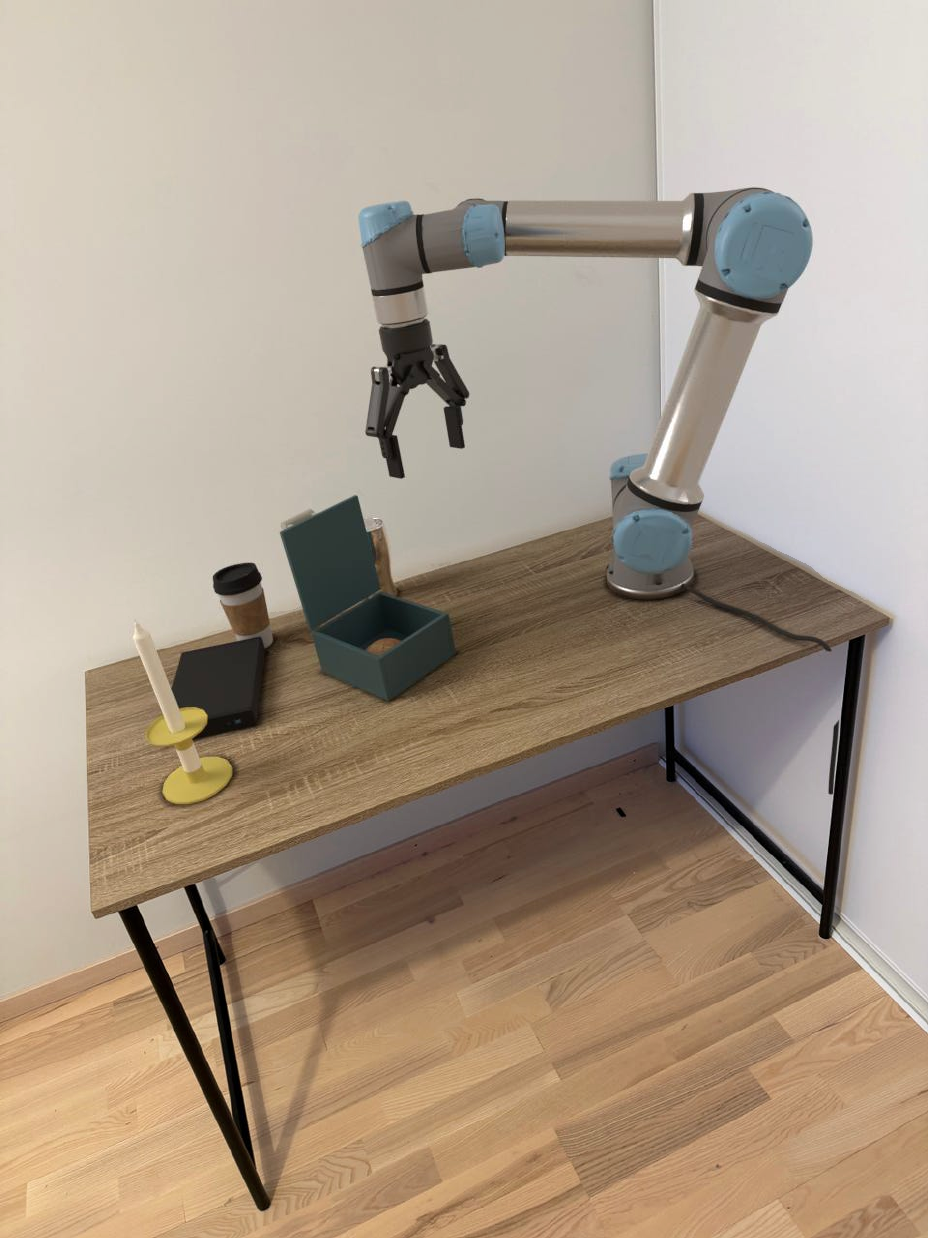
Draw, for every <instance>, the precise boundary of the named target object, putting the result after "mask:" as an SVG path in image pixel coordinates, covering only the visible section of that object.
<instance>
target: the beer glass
mask: <svg viewBox="0 0 928 1238" xmlns="http://www.w3.org/2000/svg"><path fill="white" fill-rule="evenodd" d="M363 519H364V523H365V527H366V531H367V535H368V539H369V543H370V547H371V551H372V555H373V559H374V563H375V567H376V571H377V575H378V579H379V583H380V587H381V589H380V590H379V591H377V592H375V593H374V594H372V595H370V596H369V597H367V598H366V599H368V598H370V597H371V596H373V595H375V594H377V593H378V592H380V591H381V592H384V593H387V594H390V595H394V596H397V597H398V589H397V587H396V584H395V582H394V578H393V574H392V573H393V572H392V550H391V543H390V539H389V534H388V531H387V527H386V525H385V521H384V519H382V518H380V517H367V518H363Z"/></svg>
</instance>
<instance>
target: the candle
mask: <svg viewBox="0 0 928 1238" xmlns="http://www.w3.org/2000/svg"><path fill="white" fill-rule="evenodd" d="M132 640H133V642H134V645H135V647H136V649H137V652H138V654H139V655H138V656H139V657H140V660H141V662H142V664H143V667H144V670H145V672H146V675H147V677H148V679H149V682H150V686H151V687H152V690H153V693H154V694H155V698H156V699H157V702H158V705H159V707H160V710H161V712H162V715H160V716H159V717H157V718H156V719H155V720H153V721H152V722H151V723H150V724H149V726H148V727H147V728H146V731H145V739H146V740H147V742H148V744H149V745H151V746H155V747H159V748H160V747H161V748H162V747H163V748H168V747H174V748H175V751H176V754H177V756H178V758H179V759H178V760H179V761H180V764H181V765H180V766H178V767H177V768H176V769H174V771H172V772H171V773H170V774H169V775H168V777H166V779H165V781H164V782H163V786H162V794H163V796H164V797H165V800H166V801H168V802H169V803H173V804H175V805H191V804H196V803H199V802H203V801H205V800H207V799H209V798H211V797H213V796H215V795H217V794H218V793H219V792H221V791H222V790H223V789H224V788H225V787H227V785H228V784H229V782H230V780H231V779H232V777H233V766H232V765H231V763H230V762H229V760H228V759H226V758H223V757H220V756H204V757H200V755H199V754H198V751H197V748H196V745H195V743H194V739H192V738H194V737H195V736H196V735H197V734H199V733H200V732H201V731H202V730H203V729H204V727H205V726H206V724H207V719H208V715H207V714H206V713H205V711H204V710H202V709H199V708H196V707H185V708H181V709H179V708H178V705H177V703H176V700H175V697H174V695H173V692H172V690H171V688H172V686H171V685H170V682H169V680H168V676H167V674H166V672H165V669H164V667H163V663H162V661H161V659H160V656H159V654H158V651H157V649H156V646H155V644H154V641H153V638H152V636H151V632H150V631H148V630H145V629H144V628H143V627H142V625H140V623H139V621H137V620H136V617H135V618H134V634H133V636H132Z"/></svg>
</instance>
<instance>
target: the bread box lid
mask: <svg viewBox="0 0 928 1238" xmlns="http://www.w3.org/2000/svg"><path fill="white" fill-rule="evenodd" d="M364 519H365V518H364V516H363V512H362V508H361V504H360V499H359V496H358V495H357V494H354V495H351V496H350V497H348V498H346V499H344V500H342V501H339V502H337V503H335V504H333V505H331V506H330V507H327V508H325V509H323V510H321V511H320V512H315V510H313V509H312V508H308V509H306V510H304V511H302V512H300V513H297V514H295V515H293V516H291V517H289V518H287V519H285V520H283V521H281V522H280V523H279V525H280V528H281V530H280V531H279V535H280V538H281V542H282V545H283V549H284V552H285V555H286V558H287V561H288V562H287V563H288V565H289V568H290V572H291V575H292V578H293V581H294V585H295V588H296V591H297V595H298V598H299V601H300V604H301V608H302V611H303V614H304V617H305V621H306V624H307V627H308V630H310V631H314V630H316V629H317V628H319V627H321V626H322V625H324V624H326V623H327V622H329V621H331V620H332V619H334V618H336V617H338V616H339V615H341V614H343V613H344V612H346V611H348V610H349V609H351V608H353V607H354V606H356V605H358V604H359V603H361V602H363V601H365V600H366V599H367V597H369V596H370V595H372V594H374V593H375V592H377V591H379V590H380V589H381V587H380V583H379V579H378V575H377V571H376V567H375V563H374V559H373V555H372V551H371V547H370V543H369V539H368V535H367V531H366V527H365V523H364Z"/></svg>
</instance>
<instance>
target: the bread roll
mask: <svg viewBox="0 0 928 1238" xmlns="http://www.w3.org/2000/svg"><path fill="white" fill-rule="evenodd" d="M399 642H401V641H400V640H397V639H394V638H385V639H380V640H377V641H376V642H374V643H372V644H371V645H370V646H368V647H367V649H366V650H365V651H368V652H370V653H373V654H375V655H378V656H380V655H381V654H383V653H384V652H386V651H387V650H389V649H390V648H392V647H393V646H395V645H396V644H398V643H399Z"/></svg>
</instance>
